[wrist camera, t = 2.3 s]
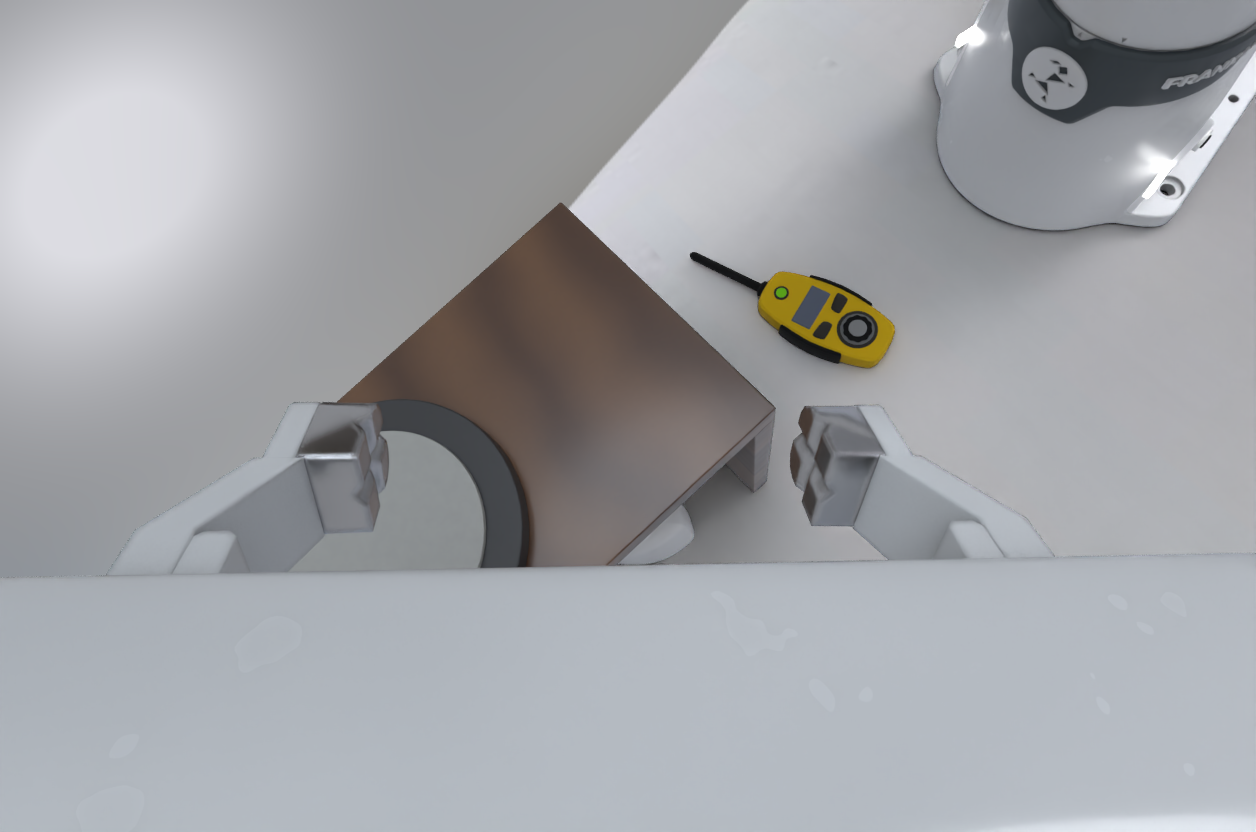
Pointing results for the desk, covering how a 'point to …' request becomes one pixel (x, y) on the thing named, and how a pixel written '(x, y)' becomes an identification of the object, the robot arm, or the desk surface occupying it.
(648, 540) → the eye dropper bottle
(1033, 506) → the desk surface
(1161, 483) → the desk surface
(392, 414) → the hot plate
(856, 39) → the desk surface
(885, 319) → the yellow walkie talkie
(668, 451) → the desk shelf
